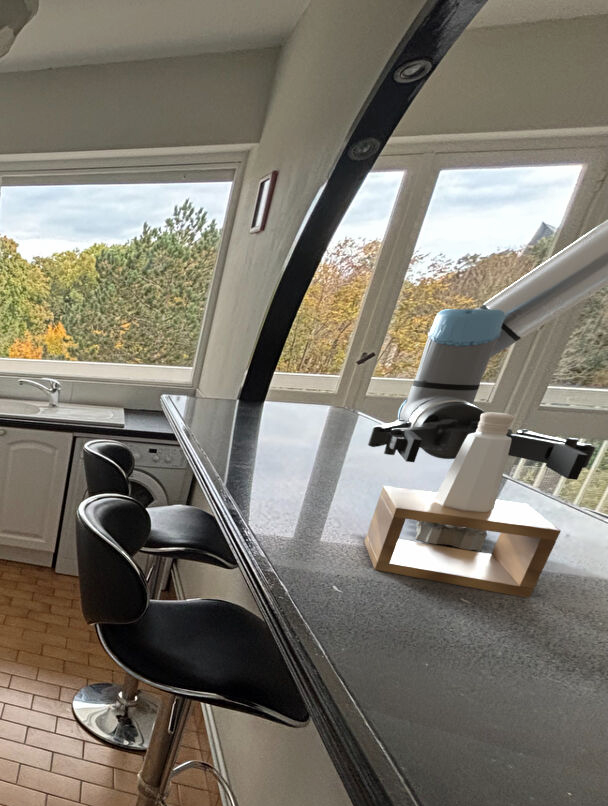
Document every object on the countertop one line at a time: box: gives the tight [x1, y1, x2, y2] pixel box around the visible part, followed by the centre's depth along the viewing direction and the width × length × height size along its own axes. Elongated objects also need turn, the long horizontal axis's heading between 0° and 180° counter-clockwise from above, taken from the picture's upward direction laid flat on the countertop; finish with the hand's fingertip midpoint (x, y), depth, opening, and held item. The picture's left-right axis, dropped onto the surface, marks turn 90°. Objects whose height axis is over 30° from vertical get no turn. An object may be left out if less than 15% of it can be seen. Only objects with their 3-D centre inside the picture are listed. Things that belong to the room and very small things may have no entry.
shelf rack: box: [364, 485, 562, 599], centre depth 73 cm, size 14×11×8 cm
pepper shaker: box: [434, 411, 516, 513], centre depth 69 cm, size 5×5×11 cm
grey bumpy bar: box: [415, 520, 488, 552], centre depth 83 cm, size 11×8×4 cm
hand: (491, 458), depth 66 cm, fingers open, 13 cm apart
